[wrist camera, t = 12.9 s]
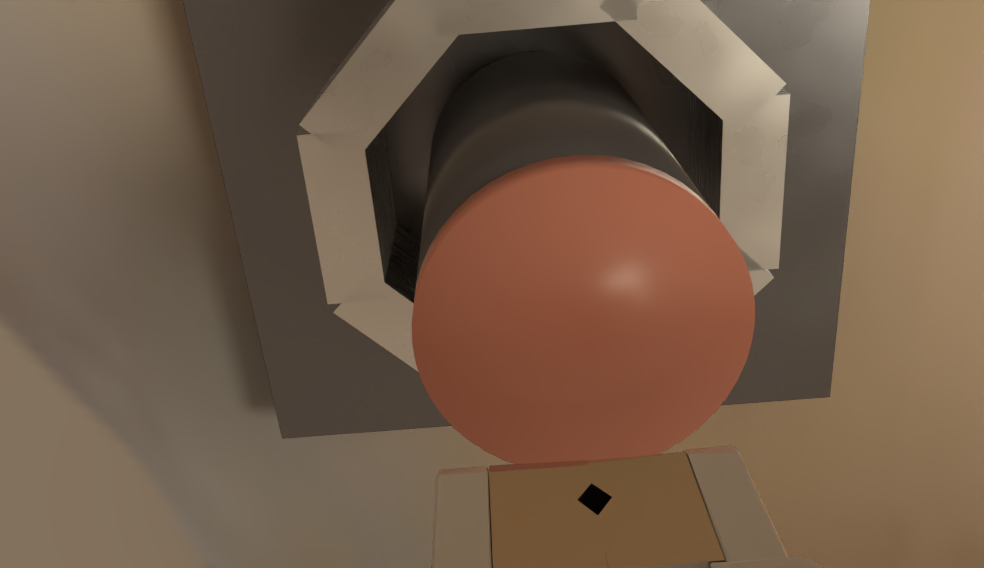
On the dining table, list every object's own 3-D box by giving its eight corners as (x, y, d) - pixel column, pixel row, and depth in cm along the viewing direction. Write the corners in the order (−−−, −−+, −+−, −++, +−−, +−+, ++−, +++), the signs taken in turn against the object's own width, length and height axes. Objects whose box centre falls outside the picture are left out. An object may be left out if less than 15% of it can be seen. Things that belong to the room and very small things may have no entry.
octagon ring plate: (862, -234, 18) (975, -257, 14) (810, 365, 24) (877, 471, 20) (168, -170, 18) (80, -173, 14) (293, 405, 24) (256, 517, 20)
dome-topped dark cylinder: (650, 44, 19) (769, 157, 11) (645, 254, 21) (743, 463, 14) (421, 57, 19) (395, 179, 11) (438, 267, 21) (426, 482, 14)
